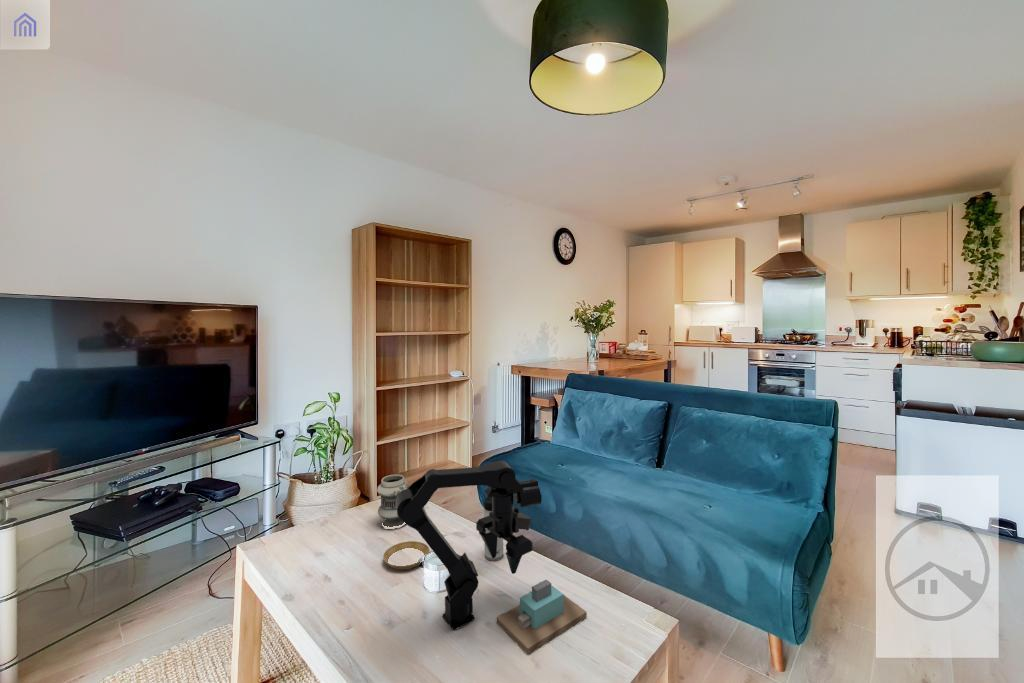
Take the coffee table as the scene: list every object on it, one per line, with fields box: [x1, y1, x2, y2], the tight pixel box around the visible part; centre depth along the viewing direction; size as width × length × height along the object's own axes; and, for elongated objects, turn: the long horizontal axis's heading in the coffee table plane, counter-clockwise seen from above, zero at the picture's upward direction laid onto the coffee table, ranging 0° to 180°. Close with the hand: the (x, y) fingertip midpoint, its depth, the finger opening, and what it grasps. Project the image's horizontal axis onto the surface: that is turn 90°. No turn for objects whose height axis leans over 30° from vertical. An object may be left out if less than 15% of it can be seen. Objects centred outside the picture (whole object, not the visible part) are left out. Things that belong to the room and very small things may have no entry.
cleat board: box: [495, 595, 588, 655], centre depth 110 cm, size 20×13×4 cm, turn 127°
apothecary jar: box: [376, 473, 410, 527], centre depth 162 cm, size 12×12×18 cm
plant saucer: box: [383, 540, 430, 570], centre depth 138 cm, size 15×15×3 cm
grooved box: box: [519, 579, 564, 630], centre depth 110 cm, size 10×6×8 cm, turn 127°
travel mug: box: [483, 497, 504, 562], centre depth 139 cm, size 6×7×20 cm
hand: (503, 565), depth 115 cm, fingers open, 9 cm apart
